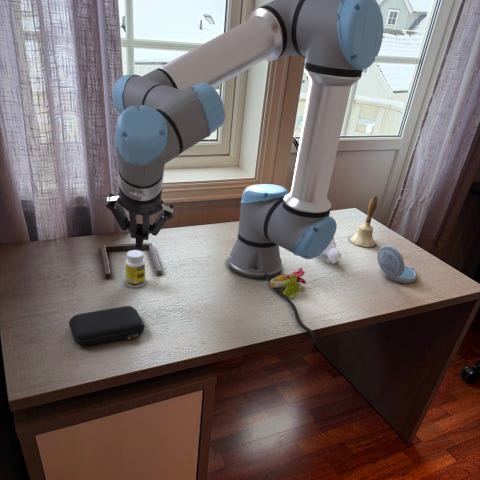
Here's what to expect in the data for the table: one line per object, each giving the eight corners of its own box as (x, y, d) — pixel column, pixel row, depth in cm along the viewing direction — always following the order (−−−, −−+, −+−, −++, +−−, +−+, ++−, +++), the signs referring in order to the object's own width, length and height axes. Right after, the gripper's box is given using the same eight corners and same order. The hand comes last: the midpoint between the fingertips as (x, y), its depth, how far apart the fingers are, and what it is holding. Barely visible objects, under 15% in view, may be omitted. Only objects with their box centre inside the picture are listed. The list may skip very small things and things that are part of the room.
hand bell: (346, 241, 149) (358, 195, 140) (355, 234, 155) (368, 189, 146) (369, 249, 146) (383, 203, 136) (378, 242, 152) (392, 197, 142)
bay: (161, 275, 118) (161, 270, 117) (105, 278, 114) (105, 273, 113) (152, 247, 130) (152, 242, 130) (100, 249, 126) (100, 244, 125)
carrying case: (77, 354, 89) (148, 339, 96) (76, 342, 88) (148, 328, 94) (68, 324, 97) (134, 312, 103) (66, 313, 95) (134, 301, 101)
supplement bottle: (139, 289, 111) (138, 259, 106) (122, 284, 112) (121, 255, 107) (148, 281, 115) (148, 252, 110) (132, 276, 116) (131, 247, 111)
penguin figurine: (327, 222, 138) (352, 242, 130) (320, 246, 143) (343, 266, 136) (311, 224, 135) (335, 245, 127) (304, 248, 140) (327, 269, 133)
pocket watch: (378, 239, 126) (412, 232, 133) (368, 273, 132) (401, 264, 140) (406, 255, 119) (440, 246, 127) (393, 289, 126) (427, 279, 133)
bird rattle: (264, 278, 114) (300, 276, 111) (273, 261, 123) (305, 259, 120) (268, 299, 117) (302, 298, 114) (275, 282, 126) (307, 280, 123)
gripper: (98, 195, 76) (107, 253, 98) (175, 209, 78) (166, 262, 100) (106, 158, 78) (112, 223, 100) (180, 173, 80) (170, 233, 102)
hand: (139, 242), depth 100 cm, fingers closed
